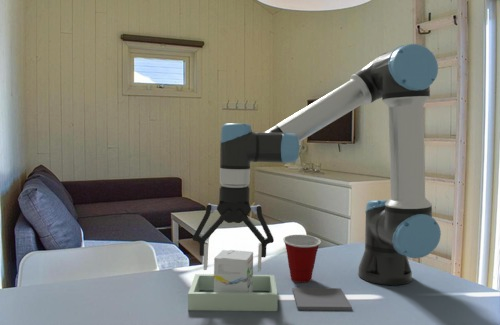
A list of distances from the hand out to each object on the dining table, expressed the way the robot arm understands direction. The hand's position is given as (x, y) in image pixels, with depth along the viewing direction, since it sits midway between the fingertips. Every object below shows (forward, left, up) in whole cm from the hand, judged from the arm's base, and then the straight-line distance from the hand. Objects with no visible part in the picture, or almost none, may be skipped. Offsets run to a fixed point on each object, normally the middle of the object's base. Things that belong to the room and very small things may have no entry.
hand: (232, 269), depth 113 cm
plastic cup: (-19, -16, -8) cm, 26 cm away
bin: (0, 0, -8) cm, 8 cm away
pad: (-22, 0, -8) cm, 24 cm away
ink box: (0, 0, -8) cm, 8 cm away
